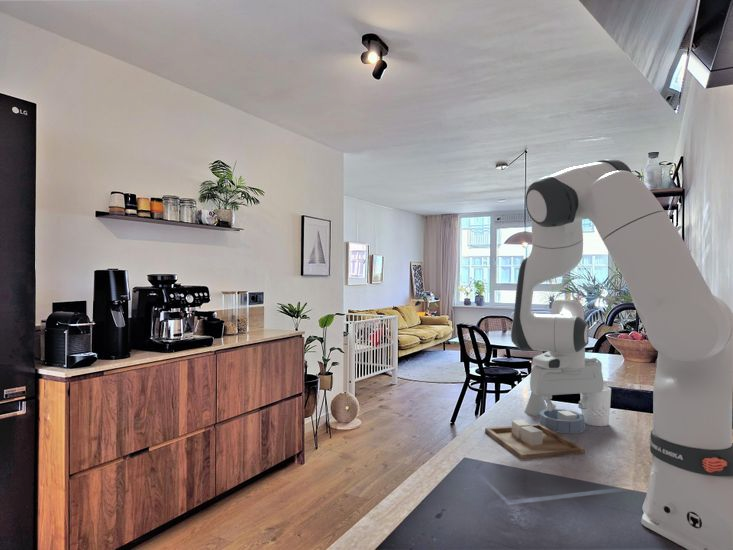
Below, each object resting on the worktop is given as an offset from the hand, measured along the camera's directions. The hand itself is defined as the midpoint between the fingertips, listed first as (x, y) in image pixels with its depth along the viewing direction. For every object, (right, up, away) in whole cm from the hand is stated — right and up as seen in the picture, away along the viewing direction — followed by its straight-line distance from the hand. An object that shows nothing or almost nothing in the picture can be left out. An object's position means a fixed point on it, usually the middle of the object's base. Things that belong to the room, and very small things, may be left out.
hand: (567, 409), depth 126 cm
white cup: (+10, -5, +4) cm, 12 cm away
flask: (-4, -5, +11) cm, 13 cm away
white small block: (0, -4, 0) cm, 4 cm away
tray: (-14, -5, -12) cm, 19 cm away
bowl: (-2, -5, 0) cm, 5 cm away
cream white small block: (-14, -5, -12) cm, 19 cm away
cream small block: (-15, -4, -7) cm, 17 cm away
